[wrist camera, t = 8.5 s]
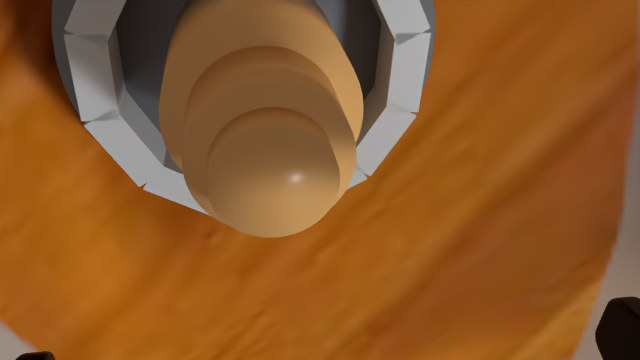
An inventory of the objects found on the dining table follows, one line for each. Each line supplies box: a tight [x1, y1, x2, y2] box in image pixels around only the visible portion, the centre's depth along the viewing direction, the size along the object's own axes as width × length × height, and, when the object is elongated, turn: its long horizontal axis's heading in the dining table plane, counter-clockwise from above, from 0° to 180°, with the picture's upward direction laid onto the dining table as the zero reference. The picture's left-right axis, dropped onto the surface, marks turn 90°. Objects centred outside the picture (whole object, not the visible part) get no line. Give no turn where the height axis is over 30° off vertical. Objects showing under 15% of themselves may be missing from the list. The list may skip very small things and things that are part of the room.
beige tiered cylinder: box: [158, 0, 363, 238], centre depth 14 cm, size 5×5×7 cm
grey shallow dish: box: [52, 0, 435, 216], centre depth 16 cm, size 11×11×2 cm
